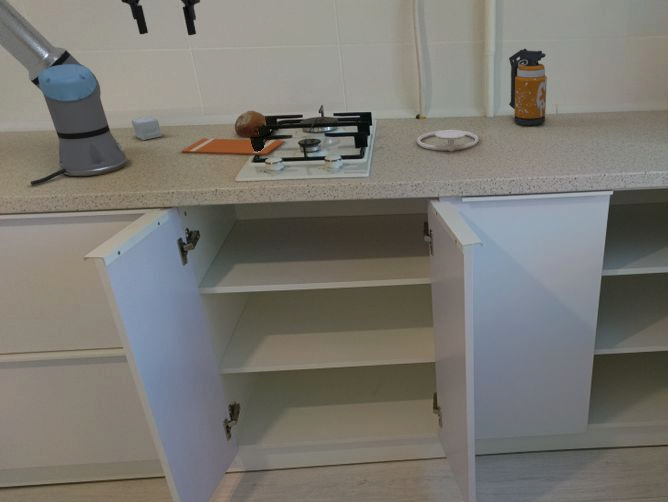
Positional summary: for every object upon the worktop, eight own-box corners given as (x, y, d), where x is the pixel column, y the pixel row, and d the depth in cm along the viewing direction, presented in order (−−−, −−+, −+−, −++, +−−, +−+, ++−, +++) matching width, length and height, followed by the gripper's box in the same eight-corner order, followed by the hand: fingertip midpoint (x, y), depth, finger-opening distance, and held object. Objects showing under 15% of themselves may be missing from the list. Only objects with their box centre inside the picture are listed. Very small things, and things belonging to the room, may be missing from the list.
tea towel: (266, 155, 175) (266, 153, 175) (182, 152, 179) (181, 150, 178) (284, 142, 185) (283, 140, 185) (203, 140, 189) (203, 138, 188)
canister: (536, 128, 192) (539, 53, 181) (502, 124, 197) (503, 50, 186) (550, 121, 198) (553, 48, 187) (516, 117, 203) (518, 45, 192)
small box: (154, 133, 196) (150, 115, 194) (162, 136, 193) (158, 119, 190) (135, 137, 193) (130, 119, 190) (143, 140, 190) (138, 123, 187)
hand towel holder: (474, 116, 187) (485, 136, 170) (474, 132, 190) (485, 153, 173) (413, 119, 186) (418, 139, 168) (414, 135, 188) (419, 157, 171)
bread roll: (261, 140, 201) (248, 114, 198) (282, 128, 194) (269, 101, 192) (237, 148, 193) (223, 122, 191) (258, 137, 187) (244, 109, 185)
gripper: (202, -62, 164) (219, 33, 175) (109, -62, 167) (132, 31, 179) (186, -62, 158) (205, 37, 169) (90, -62, 161) (115, 35, 172)
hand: (168, 34), depth 174 cm, fingers open, 13 cm apart
